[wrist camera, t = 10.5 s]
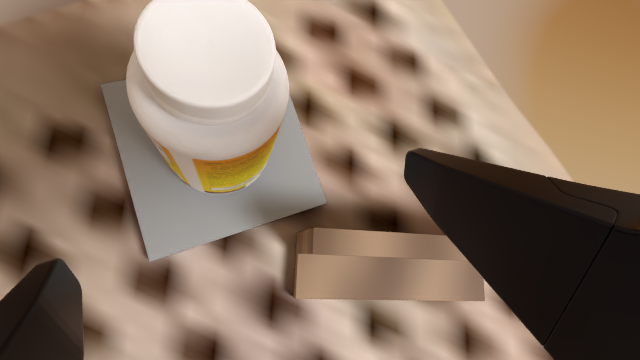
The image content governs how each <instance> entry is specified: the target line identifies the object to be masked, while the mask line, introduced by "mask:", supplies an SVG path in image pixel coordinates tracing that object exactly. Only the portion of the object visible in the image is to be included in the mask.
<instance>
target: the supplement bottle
mask: <svg viewBox="0 0 640 360" xmlns="http://www.w3.org/2000/svg"><path fill="white" fill-rule="evenodd" d="M126 87H127V94H128V99H129V102H130V105H131V107H132V110H133V112H134V114H135V116H136V118H137V120H138V121H139V123H140V124H141V126H142V127H143V129H144V130H145V132H146V133H147V134H148V136H149V137H150V139H151V140H152V142H153V143H154V144H155V146H156V147H157V149H158V150H159V152H160V153H161V155H162V156H163V157H164V159H165V160H166V162H167V163H168V164H169V166H170V167H171V169H172V170H173V171H174V173H175V174H176V175H177V176H178V177H179V178H180V179H181V180H182V181H183V182H184V183H186V184H187V185H189V186H190V187H192V188H194V189H196V190H198V191H201V192H205V193H210V194H228V193H232V192H236V191H239V190H241V189H243V188H245V187H247V186H249V185H250V184H251V183H253V182H254V181H255V180H256V179H257V178H258V177H259V176H260V174H261V173H262V171H263V170H264V168H265V166H266V164H267V162H268V159H269V157H270V154H271V151H272V148H273V146H274V143H275V140H276V137H277V135H278V132H279V129H280V126H281V124H282V121H283V118H284V115H285V113H286V109H287V105H288V99H289V82H288V76H287V72H286V69H285V66H284V63H283V61H282V59H281V57H280V55H279V54H278V52H277V50H276V47H275V41H274V37H273V33H272V31H271V28H270V26H269V25H268V23H267V21H266V19H265V18H264V17H263V15H262V14H261V13H260V12H259V11H258V9H257V8H256V7H255V6H253V5H252V4H251V3H250V2H248V1H247V0H152V1H151V2H150V3H149V4H148V5H147V6H146V7H145V8H144V9H143V11H142V12H141V14H140V16H139V18H138V20H137V23H136V26H135V30H134V51H133V53H132V55H131V57H130V60H129V63H128V66H127V73H126Z"/></svg>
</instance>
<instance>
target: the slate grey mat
mask: <svg viewBox="0 0 640 360" xmlns="http://www.w3.org/2000/svg"><path fill="white" fill-rule="evenodd" d="M101 88H102V92H103V95H104V99H105V103H106V106H107V110H108V113H109V117H110V121H111V124H112V128H113V132H114V135H115V139H116V142H117V146H118V150H119V153H120V157H121V160H122V164H123V168H124V171H125V175H126V179H127V182H128V186H129V189H130V193H131V197H132V200H133V204H134V208H135V211H136V215H137V218H138V222H139V226H140V229H141V233H142V236H143V240H144V244H145V247H146V251H147V255H148V258H149V262H150V261H154V260H157V259H160V258H163V257H166V256H169V255H172V254H175V253H178V252H182V251H185V250H188V249H191V248H194V247H197V246H200V245H203V244H206V243H209V242H212V241H215V240H218V239H221V238H224V237H227V236H230V235H233V234H236V233H239V232H242V231H245V230H248V229H251V228H254V227H257V226H260V225H263V224H266V223H269V222H272V221H275V220H278V219H281V218H284V217H287V216H290V215H293V214H296V213H299V212H302V211H305V210H308V209H311V208H314V207H317V206H320V205H323V204H326V203H327V201H326V198H325V195H324V192H323V189H322V186H321V183H320V180H319V178H318V175H317V172H316V169H315V166H314V163H313V160H312V157H311V155H310V152H309V149H308V146H307V143H306V140H305V137H304V134H303V132H302V129H301V126H300V123H299V120H298V117H297V114H296V111H295V109H294V106H293V103H292V100H291V97H290V94H289V99H288V105H287V109H286V113H285V115H284V118H283V121H282V124H281V126H280V129H279V132H278V135H277V137H276V140H275V143H274V146H273V148H272V151H271V154H270V157H269V159H268V162H267V164H266V166H265V168H264V170H263V171H262V173H261V174H260V176H259V177H258V178H257V179H256V180H255V181H254V182H253V183H251V184H250V185H249V186H247V187H245V188H243V189H241V190H239V191H236V192H232V193H228V194H210V193H205V192H201V191H198V190H196V189H194V188H192V187H190V186H189V185H187V184H186V183H184V182H183V181H182V180H181V179H180V178H179V177H178V176H177V175H176V174H175V173H174V171H173V170H172V169H171V167H170V166H169V164H168V163H167V162H166V160H165V159H164V157H163V156H162V155H161V153H160V152H159V150H158V149H157V147H156V146H155V144H154V143H153V142H152V140H151V139H150V137H149V136H148V134H147V133H146V132H145V130H144V129H143V127H142V126H141V124H140V123H139V121H138V120H137V118H136V116H135V114H134V112H133V110H132V107H131V105H130V102H129V99H128V94H127V87H126V80H121V81H116V82H110V83H104V84H101Z"/></svg>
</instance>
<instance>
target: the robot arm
mask: <svg viewBox="0 0 640 360" xmlns="http://www.w3.org/2000/svg"><path fill="white" fill-rule="evenodd" d="M404 178H405V181H406V183H407V184H408V186H409V187H410V188H411V190H412V191H413V193H414V194H415V196H416V197H417V198H418V200H419V201H420V203H421V204H422V206H423V207H424V208H425V210H426V211H427V213H428V214H429V215H430V217H431V218H432V219H433V221H434V222H435V223H436V224H437V226H438V227H439V228H440V229H441V230H442V231H443V232H444V234H445V235H446V236H447V237H448V238H449V239H450V240H451V242H452V243H453V244H454V245H455V246H456V247H457V249H458V250H459V251H460V252H461V253H462V254H463V255H464V257H465V258H466V259H467V260H468V261H469V262H470V263H471V265H472V266H473V267H474V268H475V269H476V270H477V271H478V273H479V274H480V275H481V276H482V277H483V278H484V280H485V281H486V282H487V283H488V284H489V285H490V286H491V288H492V289H493V290H494V291H495V292H496V293H497V294H498V296H499V297H500V298H501V299H502V300H503V301H504V302H505V304H506V305H507V306H508V307H509V308H510V309H511V311H512V312H513V313H514V314H515V315H516V316H517V317H518V319H519V320H520V321H521V322H522V323H523V324H524V325H525V327H526V328H527V329H528V330H529V331H530V332H531V333H532V335H533V336H534V337H535V338H536V339H537V340H538V342H539V343H540V344H541V345H542V346H544V349H545V350H546V351H547V352H548V353H549V354H550V356H551V357H552V358H553V359H554V360H640V194H635V193H628V192H623V191H618V190H612V189H607V188H601V187H596V186H591V185H585V184H581V183H576V182H571V181H566V180H562V179H557V178H553V177H546V176H544V175H539V174H535V173H530V172H526V171H521V170H517V169H513V168H508V167H504V166H499V165H495V164H490V163H486V162H481V161H477V160H472V159H468V158H464V157H459V156H455V155H450V154H446V153H441V152H437V151H432V150H428V149H423V148H417V149H414V150H411V151H408V152H407V154H406V159H405V169H404ZM83 358H84V336H83V310H82V289H81V286H80V283H79V281H78V280H77V278H76V277H75V276H74V274H73V273H72V271H71V270H70V269H69V267H68V266H67V265H66V263H65V262H64V261H63V260H62V259H59V258H56V259H52V260H49V261H46V262H42V263H39V264H37V265H36V266H35V267H34V268H33V269H32V270H31V271H30V272H29V273H28V274H27V275H26V276H25V277H24V278H23V279H22V280H21V281H20V282H19V283H18V284H17V285H16V286H15V287H14V288H13V289H12V290H11V291H10V292H9V293H8V294H7V295H6V296H5V297H4V298H3V299H2V300H1V301H0V360H83Z"/></svg>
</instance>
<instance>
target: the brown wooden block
mask: <svg viewBox="0 0 640 360" xmlns="http://www.w3.org/2000/svg"><path fill="white" fill-rule="evenodd" d="M293 297H294V298H295V299H352V300H435V301H485V296H484V281H483V277H482V276H481V275H480V274H479V273H478V271H477V270H476V269H475V268H474V267H473V266H472V265H471V263H470V262H469V261H468V260H467V259H466V258H465V257H464V255H463V254H462V253H461V252H460V251H459V250H458V249H457V247H456V246H455V245H454V244H453V243H452V242H451V240H450V239H449V238H448V237H447V236H445V235H429V234H413V233H396V232H380V231H364V230H347V229H331V228H315V227H314V228H311V229H307V230H304V231H301V232H298V233H297V235H296V253H295V272H294V290H293Z"/></svg>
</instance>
